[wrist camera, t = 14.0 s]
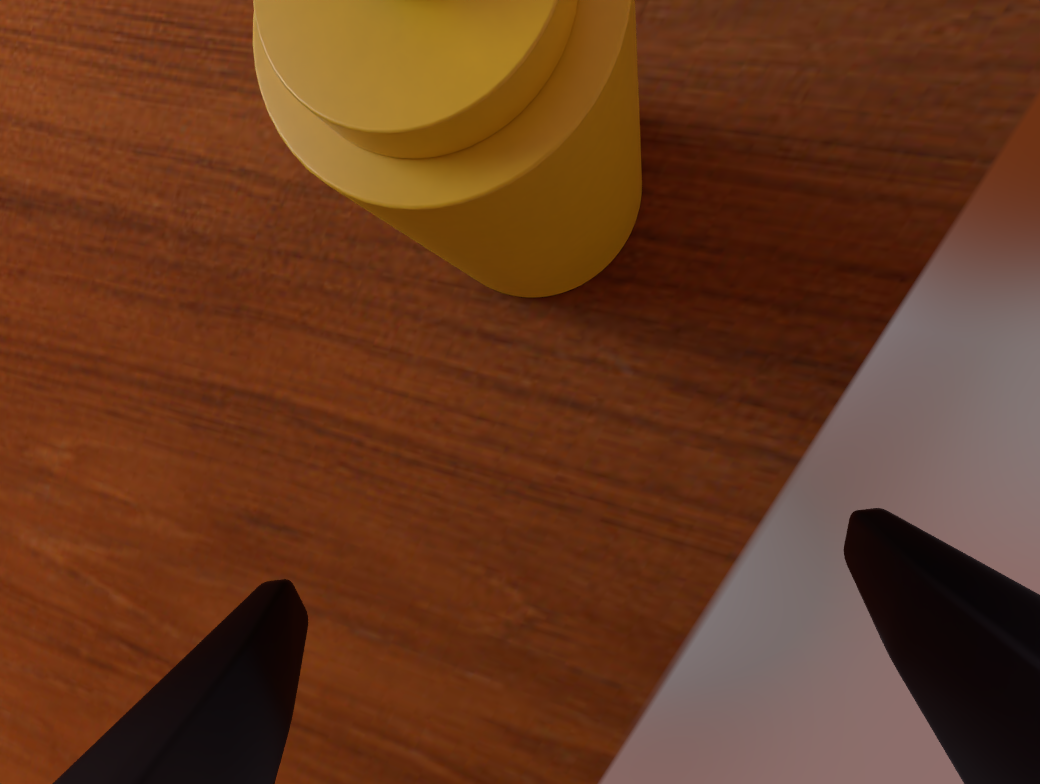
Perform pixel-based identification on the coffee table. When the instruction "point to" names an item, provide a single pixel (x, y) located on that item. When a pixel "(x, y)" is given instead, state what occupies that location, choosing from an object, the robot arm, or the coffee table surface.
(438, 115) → the pepper
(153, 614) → the coffee table surface
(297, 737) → the coffee table surface
